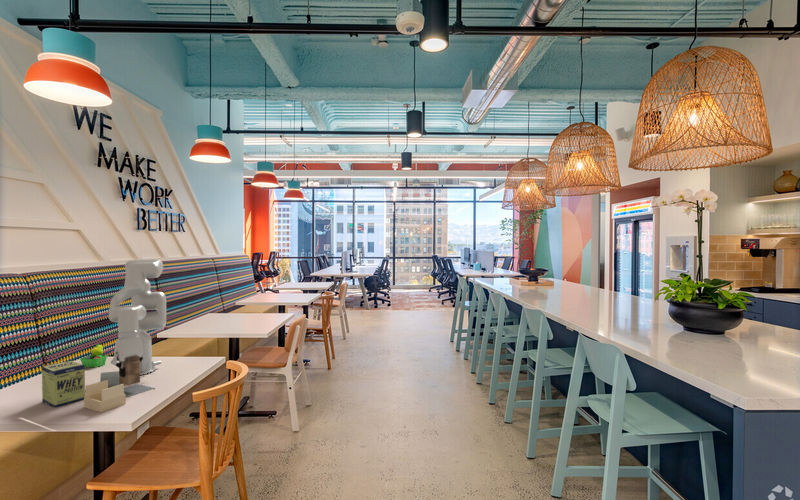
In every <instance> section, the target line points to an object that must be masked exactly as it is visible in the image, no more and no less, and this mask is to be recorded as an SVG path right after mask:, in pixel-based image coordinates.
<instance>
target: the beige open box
mask: <svg viewBox="0 0 800 500" xmlns="http://www.w3.org/2000/svg"><path fill="white" fill-rule="evenodd" d="M124 388H125V385H124V384H120V385H117V386H114V387H110V388H108V380H105V381H102V382H100V381H98V382H94V383H91V384H89V385H85V397H84V400H83V401H84V404H83V406H84V408H85V409H89V410H92V411H96V412H98V413H102V412H105V411H109V410H111V409H115V408H117V407H120V406H124V405H125V404H127V402H126V401H127V400H126V399H127V398H126V395H125V394H124Z"/></svg>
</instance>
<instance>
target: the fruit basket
mask: <svg viewBox="0 0 800 500" xmlns="http://www.w3.org/2000/svg"><path fill="white" fill-rule="evenodd" d="M90 353H91V354H88V355H87V356H84V357H80V358H79V360H80V362H81V364H83V365H84V368H99V367H102V366H104V365H105V364H106V362H107V358H108V355H107V354H106V355H105V354H103V353H104V347H103V345H102V344H96V345H95V347H93V348H91V350H90Z"/></svg>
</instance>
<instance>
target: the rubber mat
mask: <svg viewBox="0 0 800 500" xmlns="http://www.w3.org/2000/svg"><path fill="white" fill-rule="evenodd" d="M152 390H156V389H155V387H151V386H147V385H143V384H139V383H135V384H132V385H129V386H126V387H125V386H124V394H125V395H126V399H127V398H130V397H133V396H135V395H138V394H141V393H142V394H143V393H145V392H148V391H152Z"/></svg>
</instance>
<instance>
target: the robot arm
mask: <svg viewBox="0 0 800 500" xmlns="http://www.w3.org/2000/svg"><path fill="white" fill-rule="evenodd" d="M124 270H125V279H124V284H123V285H124V287H122V288H121V289H120V290H119V291H117V292H116V293H115V294H114V295H113V297H112V298H111V300H110V304H109V308H108V309H109V310H108V319H109V321H110V322H113V323H117V324H118V325H117V326H118V328H117V331H118V335H117V336H118V338H117V339H116V341H115V343H114V351H113V353H114V354H113V356H114V357H112V360H111V361H110V364H112V365H114V366H116V367H117V368H118V371H119V375H120V376H121V377H125V368H124V365H125V361H126V358H130V357H134V356H140V376H143V374H144V375H147V373H148V374H151V373H153V371H154V370H155V371H156V366H159V365H161V364H162V360H158V361H153V351H152V336H151V335H150V334H149V333H148V331H153V330H162V329H164V328H165V327H166V325H167V296H166V294H165V293H164V292H162V291H151V286H152V285H151V282H150V281H149V280H148V279H157V278H159V277H160V276H161V275H162V274H163V270H164V263H163V261H162V260H161V259H160V258H159V259H158V258H156V259H154V258H153V259H151V258H150V259H131V260H128V261H125V263H124ZM130 298H131V303H130V304H131V305H121V303H123V302H125V301H126V300H128V299H130ZM149 310H150V311H149ZM152 310H155V311H152ZM148 311H149V312H148ZM155 371H154V372H155ZM150 372H151V373H150Z"/></svg>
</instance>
